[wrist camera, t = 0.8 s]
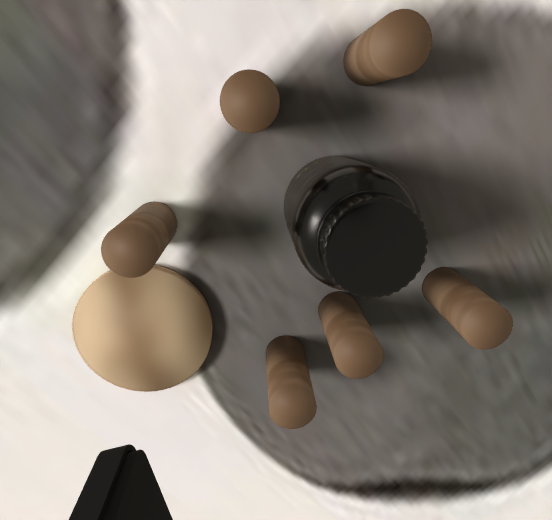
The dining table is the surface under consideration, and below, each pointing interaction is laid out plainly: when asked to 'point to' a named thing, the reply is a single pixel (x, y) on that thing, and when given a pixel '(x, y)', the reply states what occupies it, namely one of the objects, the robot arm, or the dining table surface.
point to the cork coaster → (143, 329)
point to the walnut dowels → (338, 305)
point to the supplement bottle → (355, 226)
